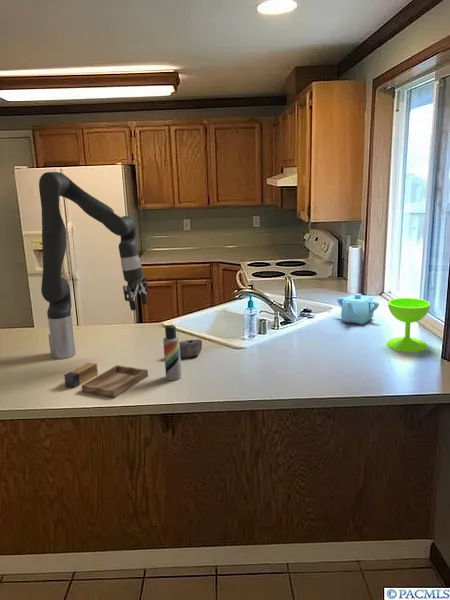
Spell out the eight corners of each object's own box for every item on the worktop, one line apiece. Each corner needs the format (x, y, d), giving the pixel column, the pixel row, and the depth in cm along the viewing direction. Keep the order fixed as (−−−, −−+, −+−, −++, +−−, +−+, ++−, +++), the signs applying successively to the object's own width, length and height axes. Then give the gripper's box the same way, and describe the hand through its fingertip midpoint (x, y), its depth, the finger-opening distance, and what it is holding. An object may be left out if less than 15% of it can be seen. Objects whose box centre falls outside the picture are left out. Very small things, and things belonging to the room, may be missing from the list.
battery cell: (65, 386, 184) (64, 375, 182) (90, 372, 196) (89, 361, 194) (74, 388, 182) (72, 376, 181) (99, 374, 194) (97, 363, 193)
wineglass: (384, 338, 219) (386, 297, 214) (424, 339, 215) (426, 298, 211) (388, 351, 204) (390, 307, 199) (431, 352, 200) (433, 308, 196)
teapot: (335, 317, 252) (335, 291, 249) (368, 315, 253) (369, 289, 250) (346, 328, 235) (346, 300, 231) (381, 326, 235) (382, 298, 232)
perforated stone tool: (166, 361, 204) (164, 344, 203) (166, 356, 210) (164, 340, 208) (203, 358, 206) (202, 341, 204) (202, 353, 211) (201, 337, 209)
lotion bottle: (166, 375, 190) (162, 323, 185) (181, 374, 190) (178, 322, 185) (165, 381, 184) (161, 328, 179) (181, 380, 185) (178, 327, 180)
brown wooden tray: (82, 391, 178) (81, 385, 178) (117, 371, 196) (116, 365, 195) (114, 397, 172) (114, 391, 172) (148, 376, 190) (147, 369, 189)
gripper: (133, 264, 209) (140, 302, 212) (113, 272, 196) (121, 312, 200) (148, 263, 206) (156, 301, 210) (130, 270, 193) (138, 311, 197)
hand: (139, 306), depth 205 cm, fingers open, 8 cm apart
